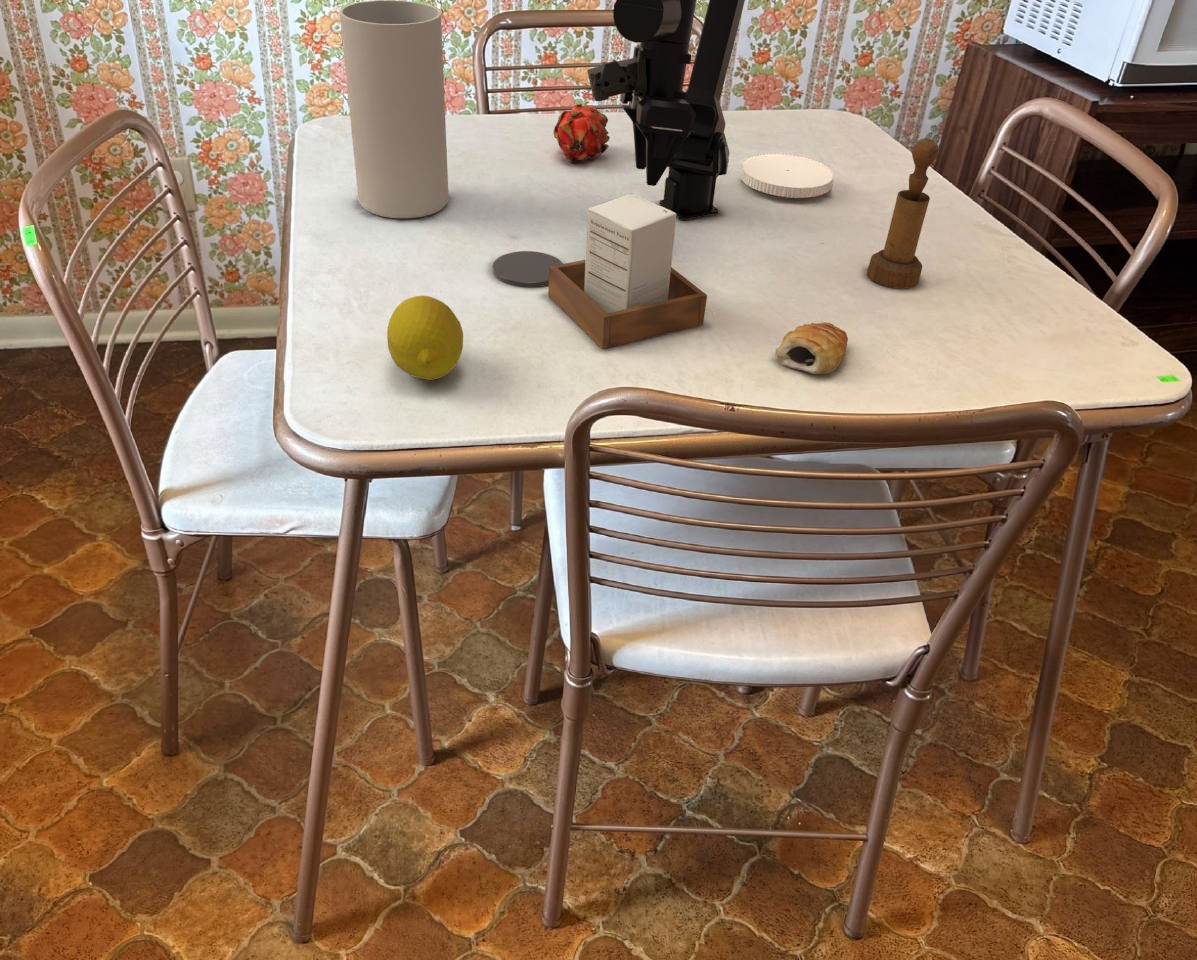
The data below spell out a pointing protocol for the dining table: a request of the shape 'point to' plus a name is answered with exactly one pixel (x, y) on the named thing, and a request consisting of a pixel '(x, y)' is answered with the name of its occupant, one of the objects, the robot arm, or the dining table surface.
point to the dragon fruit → (582, 133)
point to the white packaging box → (628, 253)
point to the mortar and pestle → (905, 226)
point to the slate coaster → (524, 268)
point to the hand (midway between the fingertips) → (645, 177)
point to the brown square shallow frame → (629, 323)
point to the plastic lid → (787, 175)
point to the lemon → (425, 337)
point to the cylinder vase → (396, 106)
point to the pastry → (813, 348)
